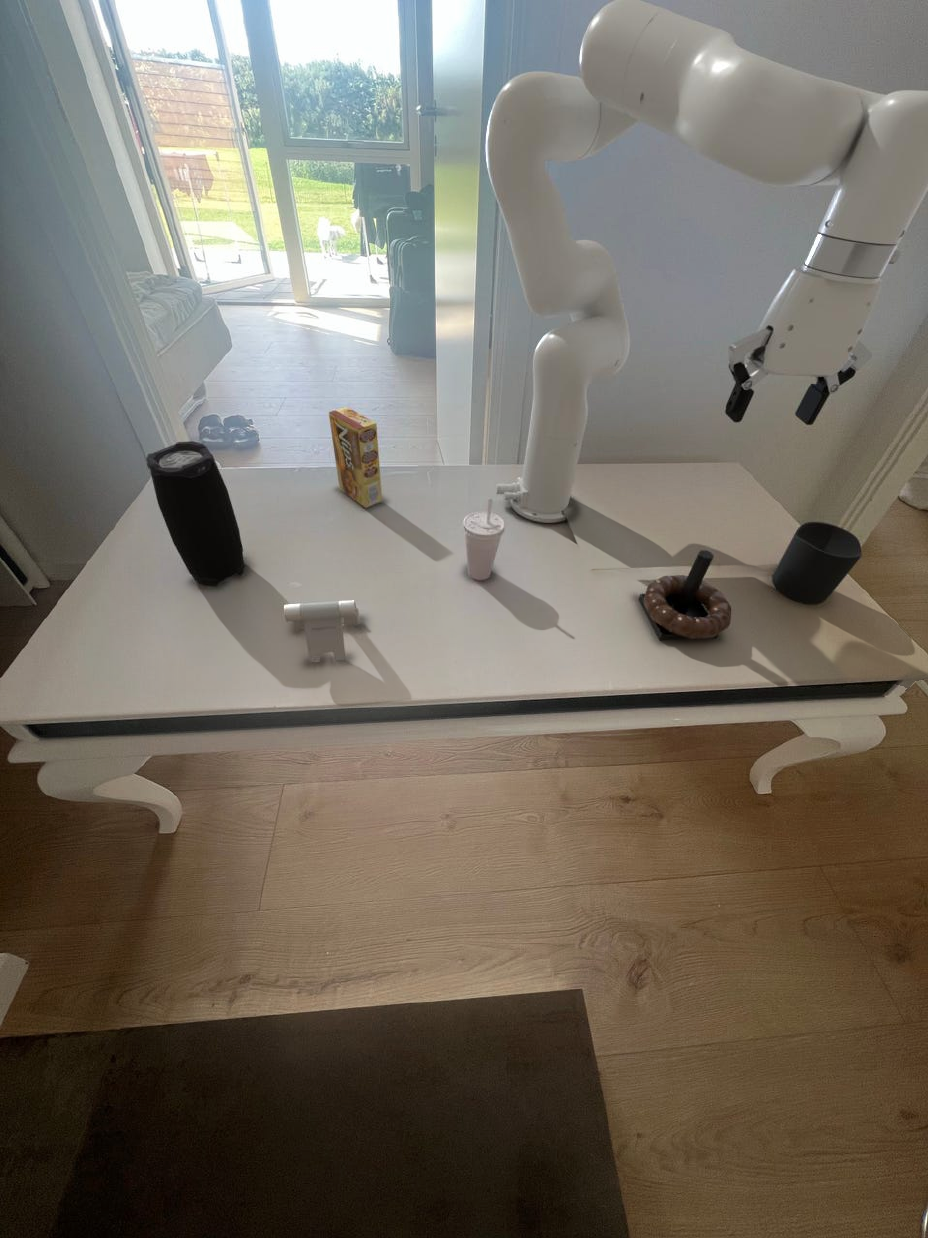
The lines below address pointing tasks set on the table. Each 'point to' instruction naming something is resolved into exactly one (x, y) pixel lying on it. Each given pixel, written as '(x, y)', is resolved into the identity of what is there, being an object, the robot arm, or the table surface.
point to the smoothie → (482, 541)
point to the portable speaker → (197, 511)
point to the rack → (685, 597)
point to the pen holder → (816, 562)
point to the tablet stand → (323, 625)
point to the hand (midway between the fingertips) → (767, 418)
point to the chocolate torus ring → (683, 623)
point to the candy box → (356, 456)
